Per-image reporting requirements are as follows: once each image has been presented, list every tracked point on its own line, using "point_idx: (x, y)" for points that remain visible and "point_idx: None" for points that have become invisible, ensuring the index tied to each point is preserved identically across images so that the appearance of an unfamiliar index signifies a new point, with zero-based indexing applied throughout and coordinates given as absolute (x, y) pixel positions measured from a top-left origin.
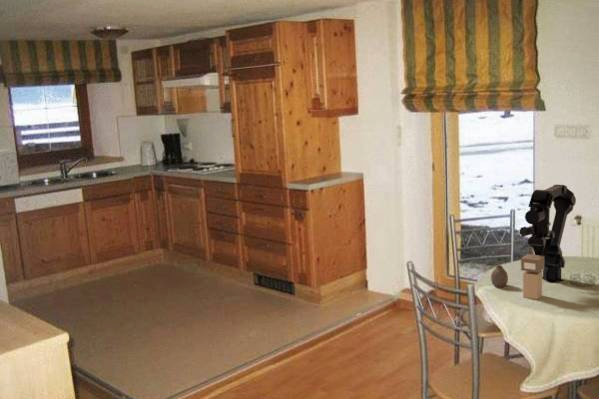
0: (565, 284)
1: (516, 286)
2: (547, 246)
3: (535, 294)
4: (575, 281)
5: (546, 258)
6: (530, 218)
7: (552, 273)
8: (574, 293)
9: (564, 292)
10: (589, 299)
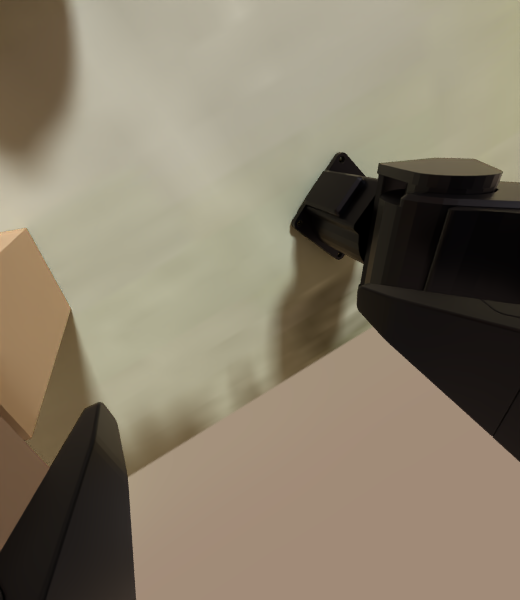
0: (298, 288)
1: (88, 65)
2: (459, 391)
3: None
4: (347, 293)
5: (389, 252)
6: None
7: (335, 238)
8: (214, 370)
9: (200, 343)
10: (187, 430)
